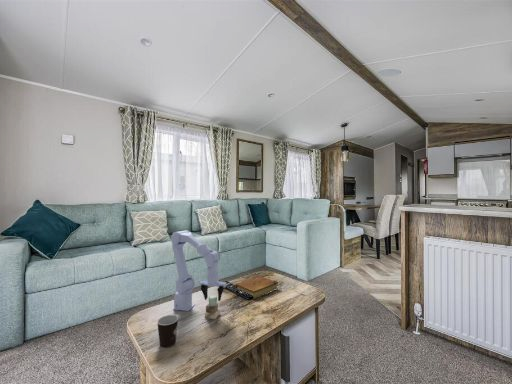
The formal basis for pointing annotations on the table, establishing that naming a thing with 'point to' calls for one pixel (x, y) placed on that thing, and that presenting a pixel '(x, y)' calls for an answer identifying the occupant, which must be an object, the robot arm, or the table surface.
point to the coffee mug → (167, 330)
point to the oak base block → (212, 314)
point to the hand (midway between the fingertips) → (212, 299)
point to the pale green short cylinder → (213, 301)
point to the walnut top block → (211, 309)
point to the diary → (257, 286)
